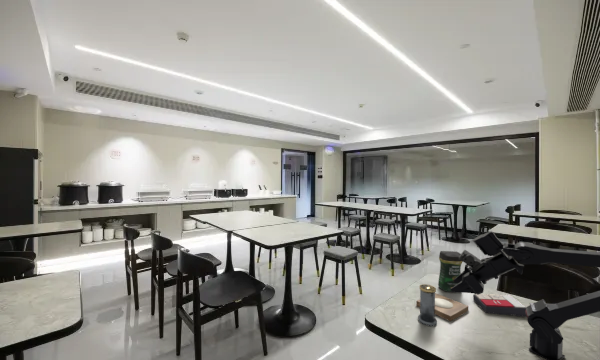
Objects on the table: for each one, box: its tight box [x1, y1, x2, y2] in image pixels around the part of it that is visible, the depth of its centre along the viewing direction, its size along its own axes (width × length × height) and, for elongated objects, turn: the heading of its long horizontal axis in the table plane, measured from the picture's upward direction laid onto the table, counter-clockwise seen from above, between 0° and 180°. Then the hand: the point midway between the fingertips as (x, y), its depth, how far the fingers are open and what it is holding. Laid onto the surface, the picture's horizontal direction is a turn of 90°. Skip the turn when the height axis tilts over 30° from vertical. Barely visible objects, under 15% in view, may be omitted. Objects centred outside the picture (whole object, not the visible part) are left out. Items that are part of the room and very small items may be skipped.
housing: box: [417, 283, 438, 327], centre depth 96 cm, size 6×6×13 cm
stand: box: [415, 292, 469, 322], centre depth 106 cm, size 14×14×2 cm
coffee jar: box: [437, 250, 463, 293], centre depth 124 cm, size 10×8×19 cm
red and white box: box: [472, 293, 527, 318], centre depth 106 cm, size 11×4×15 cm
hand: (452, 286), depth 94 cm, fingers open, 9 cm apart
